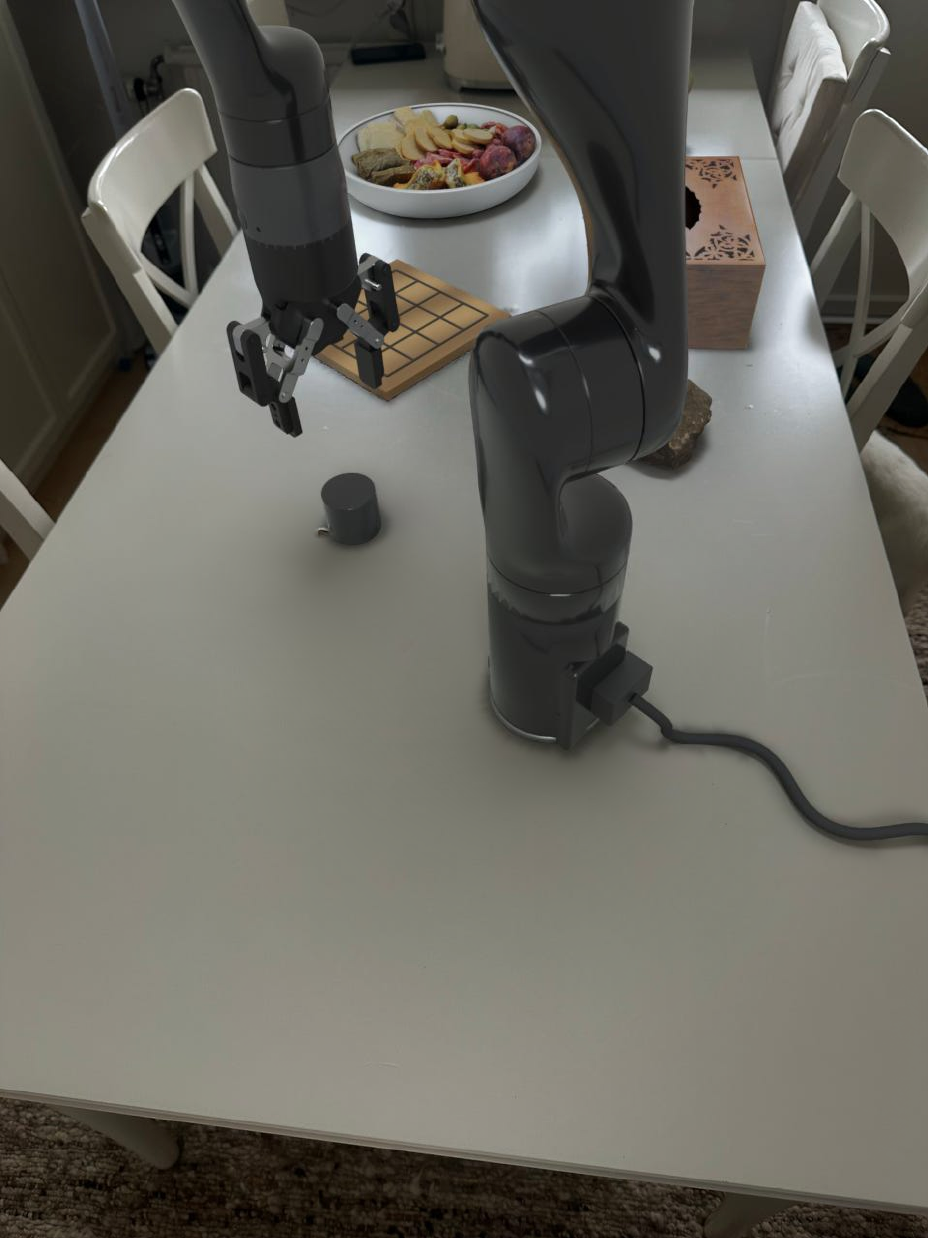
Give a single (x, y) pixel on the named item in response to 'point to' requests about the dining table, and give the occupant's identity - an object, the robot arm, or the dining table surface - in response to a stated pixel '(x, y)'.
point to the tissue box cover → (720, 253)
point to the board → (417, 331)
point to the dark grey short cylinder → (351, 508)
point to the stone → (684, 430)
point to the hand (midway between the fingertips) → (332, 407)
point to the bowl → (439, 159)
